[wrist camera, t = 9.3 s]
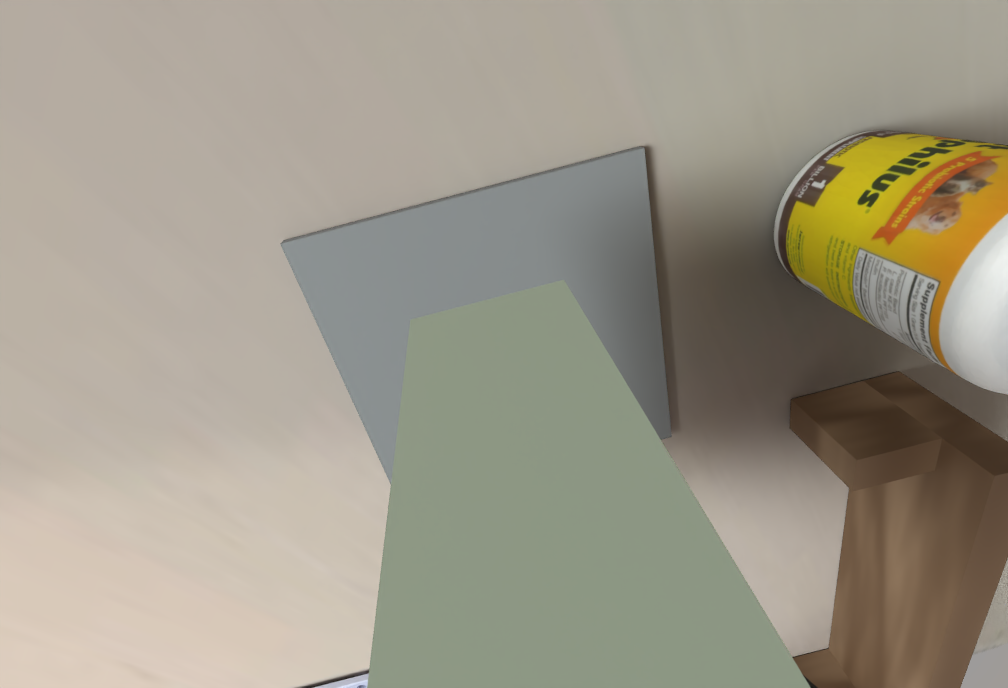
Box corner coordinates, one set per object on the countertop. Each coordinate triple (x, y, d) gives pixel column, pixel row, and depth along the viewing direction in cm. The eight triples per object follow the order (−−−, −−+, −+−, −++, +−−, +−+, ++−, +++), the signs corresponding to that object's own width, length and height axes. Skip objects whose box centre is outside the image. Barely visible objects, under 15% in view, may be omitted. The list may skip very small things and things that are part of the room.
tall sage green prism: (518, 623, 16) (594, 1143, 8) (410, 319, 11) (337, 943, 3) (623, 596, 16) (798, 1095, 8) (564, 279, 11) (883, 808, 3)
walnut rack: (777, 675, 33) (843, 790, 27) (791, 399, 22) (899, 500, 17) (851, 656, 33) (930, 768, 27) (899, 371, 22) (1041, 463, 17)
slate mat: (401, 499, 22) (401, 506, 22) (283, 240, 17) (280, 243, 16) (667, 431, 22) (671, 436, 22) (640, 146, 17) (644, 147, 16)
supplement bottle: (919, 101, 17) (1458, 132, 8) (913, 252, 20) (1313, 403, 11) (756, 163, 17) (1097, 259, 8) (771, 304, 20) (1043, 491, 11)
